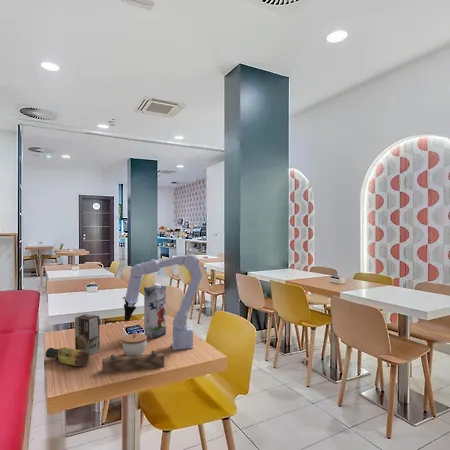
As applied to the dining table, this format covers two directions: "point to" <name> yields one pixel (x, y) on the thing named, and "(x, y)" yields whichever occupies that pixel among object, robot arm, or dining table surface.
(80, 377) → the dining table surface
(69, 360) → the sauce bottle
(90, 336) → the coffee box
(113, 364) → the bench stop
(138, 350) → the lidded jar
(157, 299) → the juice carton
